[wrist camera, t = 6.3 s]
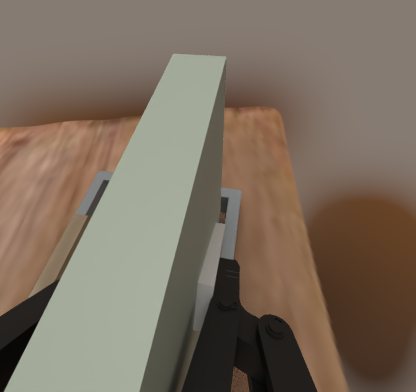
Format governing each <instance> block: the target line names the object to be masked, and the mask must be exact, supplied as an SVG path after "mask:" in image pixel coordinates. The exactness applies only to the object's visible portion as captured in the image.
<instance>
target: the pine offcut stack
mask: <svg viewBox="0 0 416 392" xmlns="http://www.w3.org/2000/svg"><path fill="white" fill-rule="evenodd" d="M90 219H91V217H89V216H86V215H81V214H74V216H73V217H72V219H71V221H70V223H69V225H68V226H67V228H66V230H65V232H64V234H63V236H62V237H61V239H60V241H59V243H58V245H57V246H56V248H55V250H54V252H53V254H52V256H51V257H50V259H49V261H48V263H47V265H46V266H45V268H44V270H43V272H42V274H41V275H40V277H39V279H38V281H37V283H36V285H35V286H34V288H33V290H32V292H31V294H30V295H29V297H28V298H30V297H31V296H33V295H34V294H36V293H38V292H39V291H41V290H42V289H44V288H45V287H47V286H48V285H50V284H52V283H53V282H55V281H56V280H58V279H60V278H61V277H62V275H63V273H64V271H65V269H66V267H67V265H68V263H69V261H70V259H71V257H72V255H73V253H74V251H75V249H76V247H77V245H78V243H79V241H80V239H81V237H82V235H83V233H84V231H85V229H86V227H87V225H88V223H89V221H90Z"/></svg>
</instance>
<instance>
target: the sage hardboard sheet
mask: <svg viewBox="0 0 416 392" xmlns="http://www.w3.org/2000/svg"><path fill="white" fill-rule="evenodd" d="M225 80H226V57H223V56H205V55H186V54H173V56H172V58H171V60H170V62H169V64H168V66H167V68H166V70H165V72H164V74H163V76H162V78H161V80H160V82H159V84H158V86H157V88H156V90H155V92H154V94H153V96H152V98H151V100H150V102H149V104H148V106H147V108H146V110H145V112H144V114H143V116H142V118H141V120H140V122H139V124H138V126H137V128H136V130H135V132H134V134H133V136H132V138H131V140H130V142H129V144H128V146H127V148H126V150H125V152H124V154H123V156H122V158H121V160H120V162H119V164H118V166H117V168H116V170H115V171H114V173H113V175H112V177H111V179H110V181H109V183H108V185H107V187H106V189H105V191H104V193H103V195H102V197H101V199H100V201H99V203H98V205H97V207H96V209H95V211H94V213H93V215H92V217H91V219H90V221H89V223H88V225H87V227H86V229H85V231H84V233H83V235H82V237H81V239H80V241H79V243H78V245H77V247H76V249H75V251H74V253H73V255H72V257H71V259H70V261H69V263H68V265H67V267H66V269H65V271H64V273H63V275H62V277H61V279H60V281H59V283H58V285H57V287H56V289H55V291H54V293H53V295H52V297H51V299H50V301H49V303H48V305H47V307H46V309H45V311H44V313H43V315H42V317H41V319H40V321H39V323H38V325H37V327H36V329H35V331H34V333H33V335H32V337H31V339H30V341H29V343H28V345H27V347H26V349H25V351H24V353H23V355H22V357H21V359H20V361H19V363H18V365H17V367H16V369H15V371H14V373H13V375H12V377H11V379H10V381H9V383H8V385H7V387H6V389H5V391H4V392H181V391H182V388H183V385H184V381H185V378H186V375H187V372H188V369H189V366H190V363H191V360H192V356H193V353H194V350H195V347H196V344H197V341H198V338H199V335H200V332H199V331H194V330H193V325H194V315H195V306H196V296H197V286H198V281H199V277H200V274H201V271H202V267H203V264H204V261H205V257H206V254H207V251H208V247H209V244H210V240H211V237H212V234H213V230H214V227H215V224H216V223H220V209H221V183H222V157H223V132H224V105H225Z"/></svg>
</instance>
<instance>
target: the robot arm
mask: <svg viewBox="0 0 416 392" xmlns="http://www.w3.org/2000/svg"><path fill="white" fill-rule="evenodd" d="M224 231H225V224H222V223H216V224H215V227H214V230H213V234H212V237H211V240H210V244H209V247H208V251H207V254H206V257H205V261H204V264H203V267H202V271H201V274H200V277H199V281H198V286H197V296H196V306H195V315H194V325H193V330H194V331H199V332H200V335H199V338H198V341H197V344H196V347H195V350H194V353H193V356H192V360H191V363H190V366H189V369H188V372H187V375H186V378H185V381H184V385H183V388H182V391H181V392H230V391H231V383H232V375H233V367H234V366H235V367H237V368H238V369H240V370H241V371H243V372H244V373H246V374H247V377H248V383H249V390H250V392H317V389H316V387H315V385H314V382H313V380H312V377H311V375H310V373H309V370H308V368H307V365H306V363H305V361H304V358H303V356H302V353H301V351H300V349H299V346H298V344H297V341H296V339H295V336H294V334H293V332H292V330H291V328H290V327H289V325H288V324H287V323H286V322H285V321H284V320H283V319H281V318H279V317H277V316H275V315H271V314H269V315H264V316H262V317H260V319H259V318H257V317H255V316H253V315H251V314H250V313H248V312H247V311H246V310H245V309H244V308H243V307H242V305H241V303H240V300H239V270H240V266H239V264H238V263H237V261H236V260H232V259H227V258H221V252H222V245H223V238H224ZM60 279H61V278H60ZM60 279H58V280H56V281H55V282H53V283H52V284H50V285H48V286H47V287H45V288H44V289H42V290H41V291H39V292H38V293H36V294H34V295H33V296H31V297H30V298H28V299H27V300H25V301H24V302H22V303H20V304H19V305H17V306H16V307H14V308H13V309H11V310H10V311H8V312H6V313H5V314H3V315H2V316H0V392H4V391H5V389H6V387H7V385H8V383H9V381H10V379H11V377H12V375H13V373H14V371H15V369H16V367H17V365H18V363H19V361H20V359H21V357H22V355H23V353H24V351H25V349H26V347H27V345H28V343H29V341H30V339H31V337H32V335H33V333H34V331H35V329H36V327H37V325H38V323H39V321H40V319H41V317H42V315H43V313H44V311H45V309H46V307H47V305H48V303H49V301H50V299H51V297H52V295H53V293H54V291H55V289H56V287H57V285H58V283H59V281H60Z"/></svg>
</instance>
